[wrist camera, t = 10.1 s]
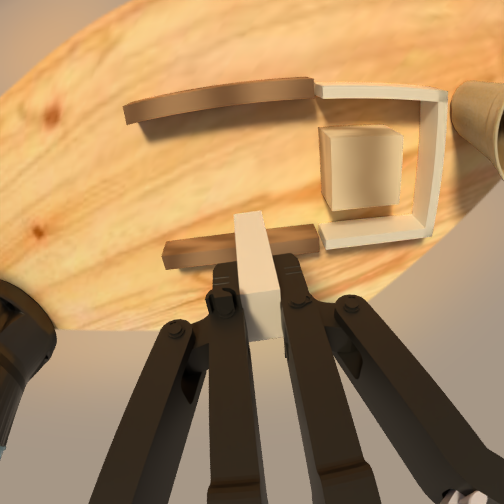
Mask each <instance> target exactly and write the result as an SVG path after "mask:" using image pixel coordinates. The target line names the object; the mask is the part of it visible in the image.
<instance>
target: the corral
mask: <svg viewBox="0 0 504 504" xmlns="http://www.w3.org/2000/svg"><path fill="white" fill-rule="evenodd" d="M314 92H315V95H316V96H318V97H320V98H323V99H334V98H380V99H405V100H421V102H420V132H419V149H418V162H417V173H416V183H415V192H414V200H413V208H412V214H405V215H395V216H384V217H374V218H364V219H354V220H345V221H335V222H326V223H318V232H319V235H320V237H321V239H322V242H323V244H324V246H325V249H326V250H328V249H336V248H344V247H352V246H361V245H369V244H377V243H385V242H393V241H401V240H409V239H417V238H425V237H432V233H433V228H434V223H435V217H436V211H437V205H438V199H439V193H440V186H441V178H442V170H443V162H444V152H445V141H446V127H447V109H448V91H445V90H441V89H437V88H434V87H430V86H420V85H409V84H394V83H372V82H317V83H314Z"/></svg>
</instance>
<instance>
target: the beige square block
mask: <svg viewBox="0 0 504 504" xmlns="http://www.w3.org/2000/svg"><path fill="white" fill-rule="evenodd" d="M318 132H319V150H320V172H321V193H322V194H323V196H324V198H325V200H326V201H327V203H328V205H329V207H330V208H331V210H332V211H339V210H349V209H358V208H368V207H377V206H387V205H398V204H399V200H400V189H401V175H402V159H403V135H402V134H400V133H398V132H397V131H395V130H393V129H391V128H389V127H388V126H386V125H384V124H379V125H348V126H329V127H318Z"/></svg>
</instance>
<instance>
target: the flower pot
mask: <svg viewBox="0 0 504 504" xmlns="http://www.w3.org/2000/svg"><path fill="white" fill-rule="evenodd" d="M451 108H452V116H451V120H452V123H453V125H454V128H455V129H456V131H457V132H458V134H459V135H460V136H461V137H463V138H464V139H466V140H467V141H468V142H469V143H470V144H472V145H473V146H474V147H475V148H477V149H478V150H479V151H480V152H481V153H482V154H484V155H485V156H486V157H487V158H488V159H489V160H490V161H491V162H492V163H493V165H494V167H495V168H496V169H497V170H498V173H499V175H500V176H501V178H502V180H503V181H504V83H492V82H481V81H468V82H465V83H463V84H462V85H460V86H459V87H458V88H457V90H456V91H455V93H454V95H453V98H452V101H451Z"/></svg>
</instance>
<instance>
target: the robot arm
mask: <svg viewBox="0 0 504 504" xmlns="http://www.w3.org/2000/svg"><path fill="white" fill-rule="evenodd" d="M234 226H235V240H236V253H237V261H233V262H226V263H218V264H217V265H216V267H215V268H214V270H213V289H212V290H210V291H209V292H208V294H207V295H206V298H205V300H206V304H207V308H208V311H209V315H208V316H207V317H205V318H204V319H202V320H200V321H198V322H196V323H193V324H190V323H189V322H188V321H186V320H182V319H178V320H173V321H170V322H168V323H167V324H165V325H164V326H163V327H162V329H161V330H160V332H159V335H158V337H157V339H156V341H155V343H154V346H153V348H152V350H151V352H150V354H149V357H148V359H147V361H146V363H145V366H144V368H143V370H142V372H141V375H140V377H139V379H138V382H137V384H136V386H135V388H134V391H133V393H132V395H131V398H130V400H129V402H128V405H127V407H126V410H125V412H124V414H123V417H122V419H121V422H120V424H119V426H118V429H117V431H116V434H115V436H114V439H113V441H112V444H111V446H110V449H109V451H108V454H107V457H106V459H105V462H104V464H103V466H102V469H101V472H100V474H99V477H98V480H97V482H96V485H95V487H94V490H93V493H92V496H91V498H90V501H89V504H168V501H169V497H170V494H171V491H172V487H173V484H174V480H175V477H176V473H177V470H178V466H179V463H180V460H181V456H182V453H183V450H184V446H185V443H186V439H187V435H188V432H189V429H190V426H191V422H192V419H193V416H194V412H195V409H196V406H197V402H198V399H199V395H200V392H201V389H202V385H203V382H204V378H205V375H206V370H208V369H209V434H210V469H211V483H210V486H209V488H208V492H207V504H268V500H267V493H266V484H265V476H264V468H263V460H262V451H261V442H260V434H259V425H258V416H257V408H256V399H255V390H254V381H253V372H252V363H251V354H250V348H249V342H252V341H260V340H267V339H273V338H280V337H283V336H284V345H285V346H284V347H285V358H287V362H288V367H289V372H290V378H291V383H292V388H293V393H294V398H295V403H296V408H297V414H298V419H299V425H300V429H301V435H302V441H303V446H304V451H305V456H306V462H307V467H308V473H309V478H310V484H311V490H312V501H313V504H381V500H380V496H379V492H378V488H377V485H376V481H375V478H374V474H373V471H372V468H371V467H370V465H369V464H368V463H367V462H366V461H365V460H364V457H363V454H362V451H361V447H360V444H359V440H358V437H357V433H356V429H355V426H354V422H353V419H352V416H351V412H350V409H349V405H348V403H347V399H346V395H345V392H344V389H343V386H342V382H341V379H340V376H339V373H338V369H337V366H336V363H335V360H334V357H335V358H336V360H337V361H338V363H339V364H340V366H341V368H342V369H343V370H344V372H345V374H346V375H347V376H348V378H349V380H350V381H351V383H352V384H353V385H354V387H355V389H356V390H357V392H358V393H359V395H360V396H361V398H362V399H363V401H364V402H365V404H366V405H367V407H368V408H369V410H370V411H371V413H372V414H373V415H374V417H375V419H376V420H377V422H378V423H379V425H380V426H381V428H382V430H383V431H384V433H385V434H386V436H387V437H388V439H389V440H390V442H391V443H392V445H393V446H394V448H395V449H396V451H397V452H398V454H399V455H400V457H401V458H402V460H403V462H404V463H405V465H406V466H407V468H408V469H409V471H410V472H411V474H412V475H413V477H414V479H415V480H416V481H417V483H418V485H419V486H420V487H421V488H422V490H423V491H424V493H425V494H426V495H427V496H428V497H429V498H430V499H431V500H432V501H433V502H434V503H435V504H504V459H503V458H502V457H500V456H499V455H497V454H495V453H494V452H492V451H490V450H489V449H487V448H486V446H485V445H484V444H483V442H482V441H481V440H480V439H479V437H478V436H477V434H476V433H475V432H474V430H473V429H472V428H471V426H470V425H469V424H468V423H467V421H466V420H465V419H464V417H463V416H462V415H461V414H460V412H459V411H458V410H457V409H456V407H455V406H454V405H453V404H452V402H451V401H450V400H449V399H448V397H447V396H446V395H445V393H444V392H443V391H442V390H441V388H440V387H439V386H438V385H437V384H436V382H435V381H434V380H433V379H432V377H431V376H430V375H429V374H428V373H427V372H426V370H425V369H424V368H423V366H422V365H421V364H420V363H419V362H418V360H417V359H416V358H415V357H414V356H413V355H412V353H411V352H410V351H409V350H408V349H407V347H406V346H405V345H404V344H403V343H402V342H401V340H400V339H399V338H398V337H397V336H396V335H395V333H394V332H393V331H392V330H391V329H390V328H389V327H388V325H387V324H386V323H385V322H384V321H383V320H382V319H381V317H380V316H379V315H378V314H377V313H376V312H375V311H374V310H373V308H372V307H371V306H370V305H369V304H368V303H367V302H366V300H364V299H363V298H362V297H360V296H357V295H344V296H342V297H340V298H338V300H337V301H336V302H335V303H325V302H321V301H318V300H316V299H314V298H313V296H312V295H311V294H310V293H309V291H308V288H307V285H306V282H305V279H304V276H303V273H302V270H301V267H300V264H299V261H298V258H296V257H295V256H294V255H293V254H292V253H286V254H279V255H272V253H271V249H270V245H269V241H268V237H267V232H266V228H265V224H264V220H263V216H262V212H261V211H254V212H247V213H239V214H234ZM56 343H57V338H56V332H55V329H54V327H53V325H52V323H51V321H50V319H49V318H48V316H47V315H46V314H45V312H44V311H43V310H42V309H41V307H40V306H39V305H38V304H37V303H36V302H35V301H34V300H33V299H32V298H30V297H29V296H28V295H27V294H26V293H24V292H23V291H22V290H20V289H19V288H17V287H15V286H14V285H12V284H10V283H8V282H5V281H3V280H0V459H1V456H2V454H3V451H4V450H5V449H6V443H7V440H8V436H9V433H10V430H11V427H12V424H13V420H14V417H15V414H16V411H17V408H18V405H19V403H20V400H21V397H22V394H23V392H24V389H25V387H26V384H27V382H28V381H29V380H30V379H31V378H32V377H33V376H34V375H35V374H36V373H37V372H38V371H39V370H40V369H41V368H42V366H43V365H44V364H45V363H46V362H47V361H48V360H49V359H50V358H51V356H52V353H53V351H54V349H55V346H56ZM333 356H334V357H333Z"/></svg>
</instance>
